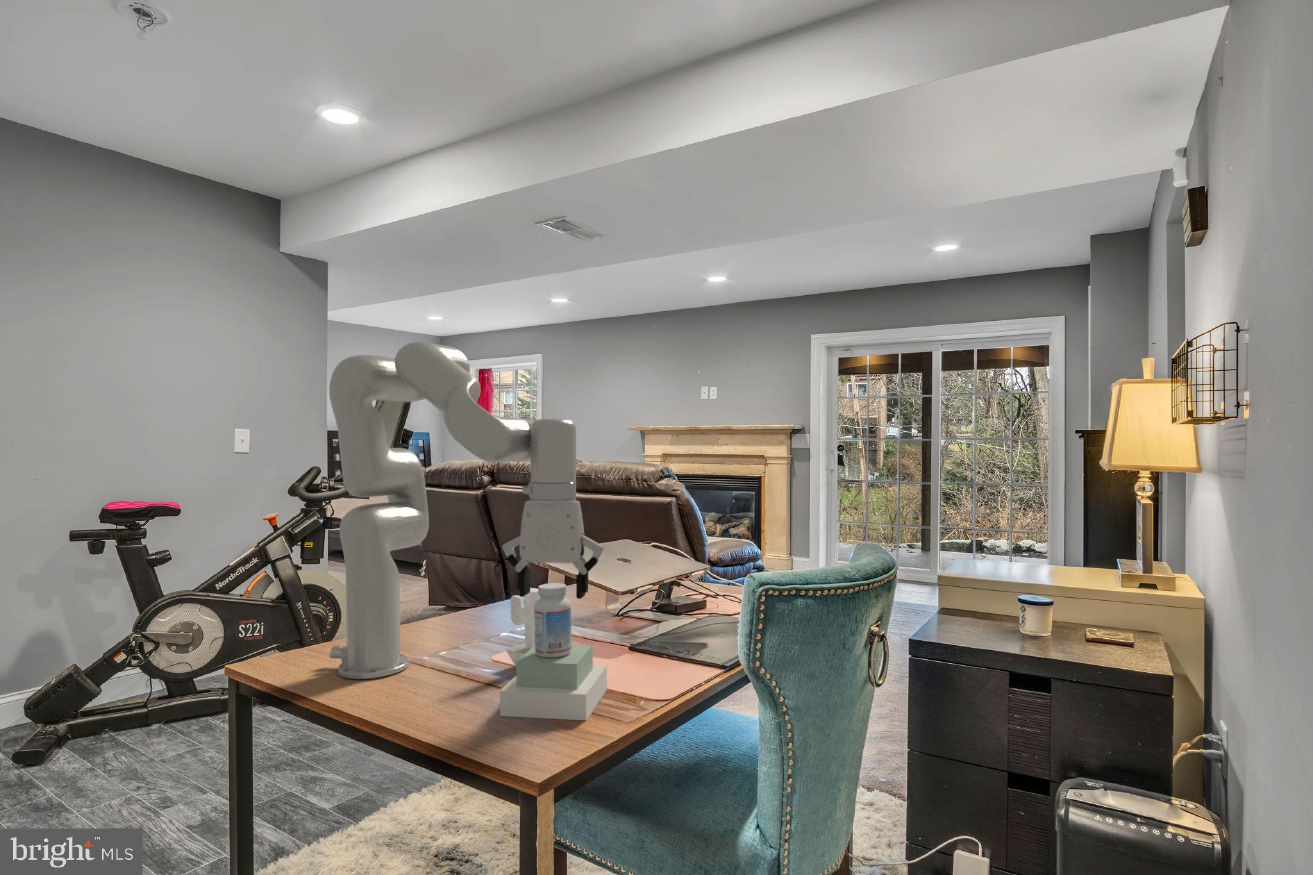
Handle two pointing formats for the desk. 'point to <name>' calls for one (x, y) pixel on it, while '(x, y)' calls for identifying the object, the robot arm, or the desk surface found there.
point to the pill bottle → (552, 621)
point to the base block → (554, 699)
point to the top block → (555, 669)
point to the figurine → (523, 617)
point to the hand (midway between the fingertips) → (552, 595)
